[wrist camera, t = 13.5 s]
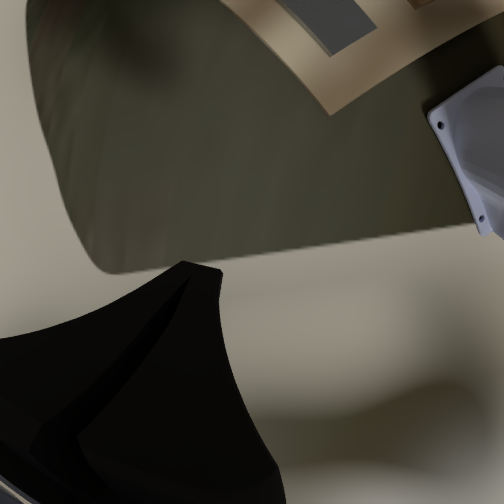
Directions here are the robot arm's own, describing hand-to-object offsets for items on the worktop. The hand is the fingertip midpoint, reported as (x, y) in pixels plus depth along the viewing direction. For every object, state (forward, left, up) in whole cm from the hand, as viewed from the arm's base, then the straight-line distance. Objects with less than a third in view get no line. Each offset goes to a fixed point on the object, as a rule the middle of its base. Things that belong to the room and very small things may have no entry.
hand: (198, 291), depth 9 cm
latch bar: (+8, -11, -8) cm, 15 cm away
